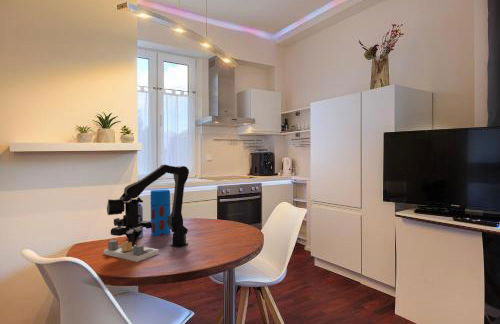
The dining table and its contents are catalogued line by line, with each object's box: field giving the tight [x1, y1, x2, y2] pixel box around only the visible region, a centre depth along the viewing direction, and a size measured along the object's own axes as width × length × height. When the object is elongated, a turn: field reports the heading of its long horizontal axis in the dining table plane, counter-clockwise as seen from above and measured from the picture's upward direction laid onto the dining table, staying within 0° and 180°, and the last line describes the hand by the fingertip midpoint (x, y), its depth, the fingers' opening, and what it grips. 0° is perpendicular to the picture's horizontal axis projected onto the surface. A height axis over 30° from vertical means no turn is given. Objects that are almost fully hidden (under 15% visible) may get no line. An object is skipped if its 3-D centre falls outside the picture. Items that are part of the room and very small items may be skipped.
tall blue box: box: [150, 189, 171, 237], centre depth 179 cm, size 11×11×25 cm
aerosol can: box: [129, 203, 144, 239], centre depth 173 cm, size 8×8×20 cm
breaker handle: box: [121, 240, 132, 251], centre depth 139 cm, size 3×3×4 cm
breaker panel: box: [103, 239, 159, 263], centre depth 142 cm, size 12×22×6 cm, turn 60°
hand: (132, 246), depth 142 cm, fingers closed
